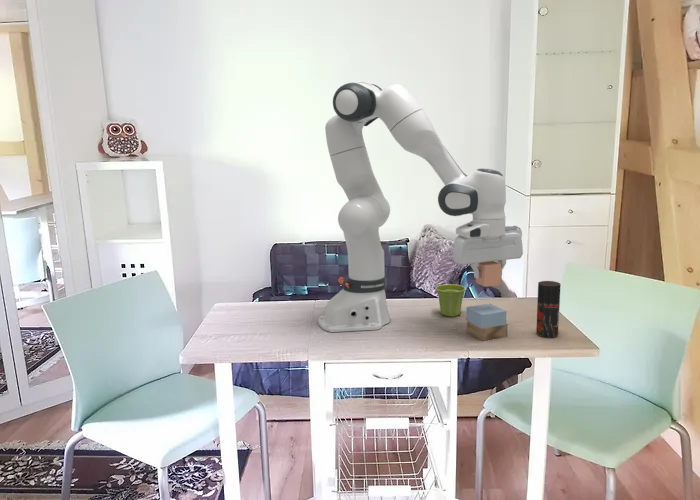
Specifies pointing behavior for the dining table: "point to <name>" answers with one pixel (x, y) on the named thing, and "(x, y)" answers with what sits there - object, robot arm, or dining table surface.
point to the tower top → (486, 315)
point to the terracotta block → (489, 273)
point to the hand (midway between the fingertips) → (488, 276)
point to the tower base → (487, 332)
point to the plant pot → (450, 298)
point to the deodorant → (548, 309)
